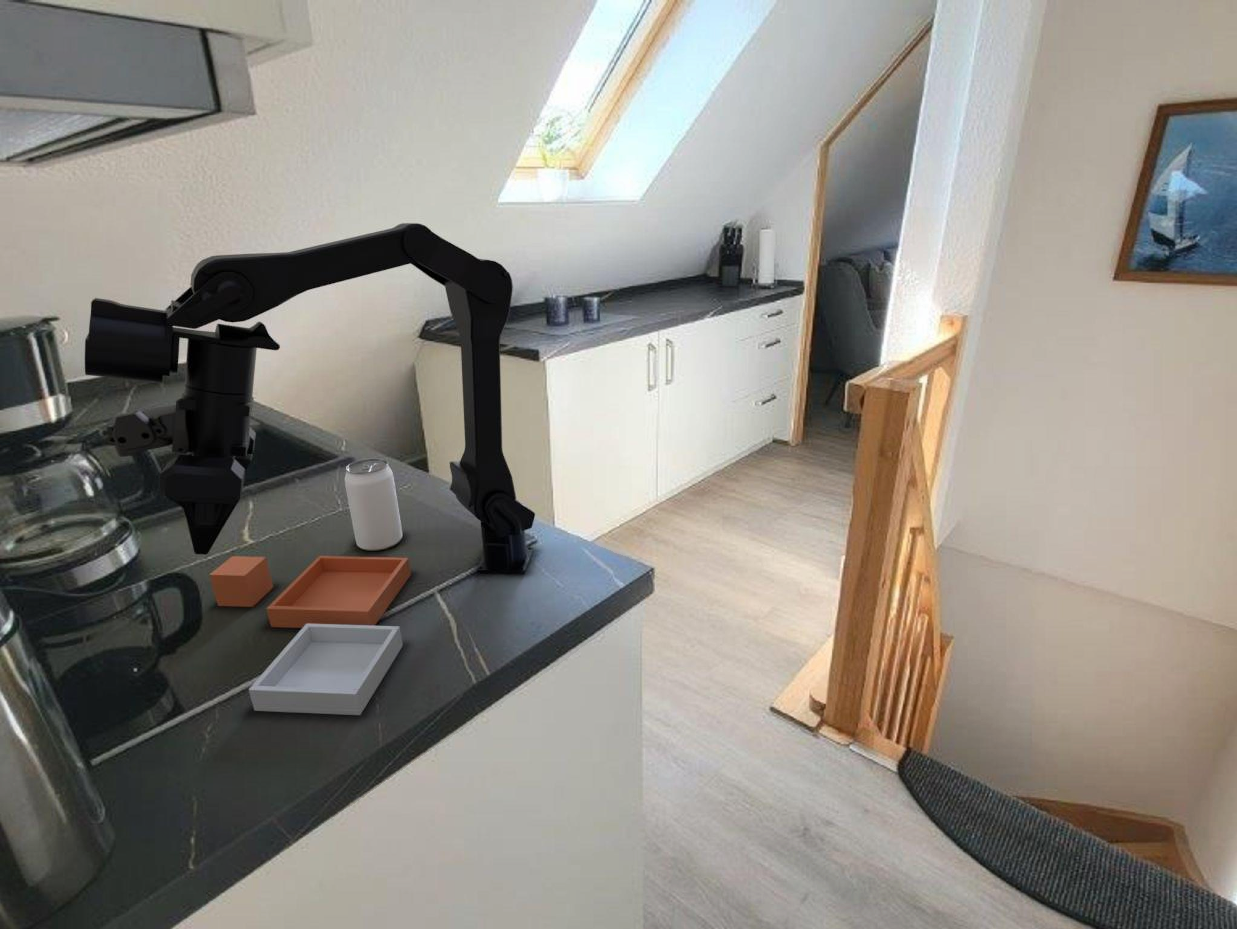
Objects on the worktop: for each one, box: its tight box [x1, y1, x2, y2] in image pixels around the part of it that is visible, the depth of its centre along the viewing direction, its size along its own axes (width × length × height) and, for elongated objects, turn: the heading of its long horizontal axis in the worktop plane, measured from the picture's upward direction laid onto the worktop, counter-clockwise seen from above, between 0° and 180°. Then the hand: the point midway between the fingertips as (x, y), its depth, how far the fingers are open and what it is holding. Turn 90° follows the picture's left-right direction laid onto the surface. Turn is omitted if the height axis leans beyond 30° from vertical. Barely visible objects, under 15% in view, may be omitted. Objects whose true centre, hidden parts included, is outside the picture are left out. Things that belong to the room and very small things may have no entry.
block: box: [208, 555, 274, 608], centre depth 81 cm, size 4×4×4 cm
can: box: [344, 457, 403, 552], centre depth 93 cm, size 6×6×12 cm
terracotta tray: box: [266, 555, 412, 629], centre depth 81 cm, size 12×12×3 cm
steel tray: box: [248, 624, 404, 716], centre depth 67 cm, size 11×11×3 cm
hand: (207, 535), depth 67 cm, fingers open, 9 cm apart
